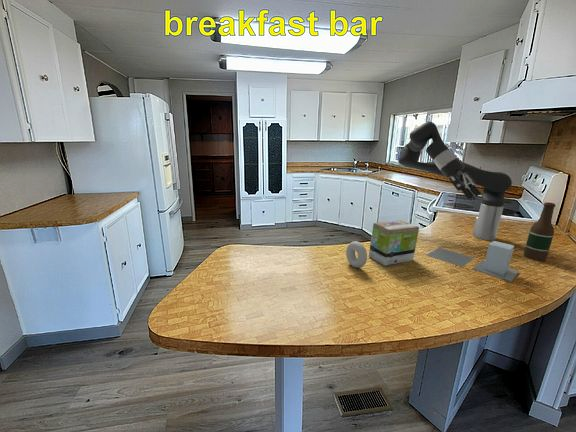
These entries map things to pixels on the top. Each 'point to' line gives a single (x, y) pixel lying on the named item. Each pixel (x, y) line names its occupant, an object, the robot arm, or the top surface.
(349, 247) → the donut
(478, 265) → the gray plate with knob
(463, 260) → the mat
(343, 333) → the top surface
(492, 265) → the light gray block
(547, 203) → the beer bottle
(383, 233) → the tea box
